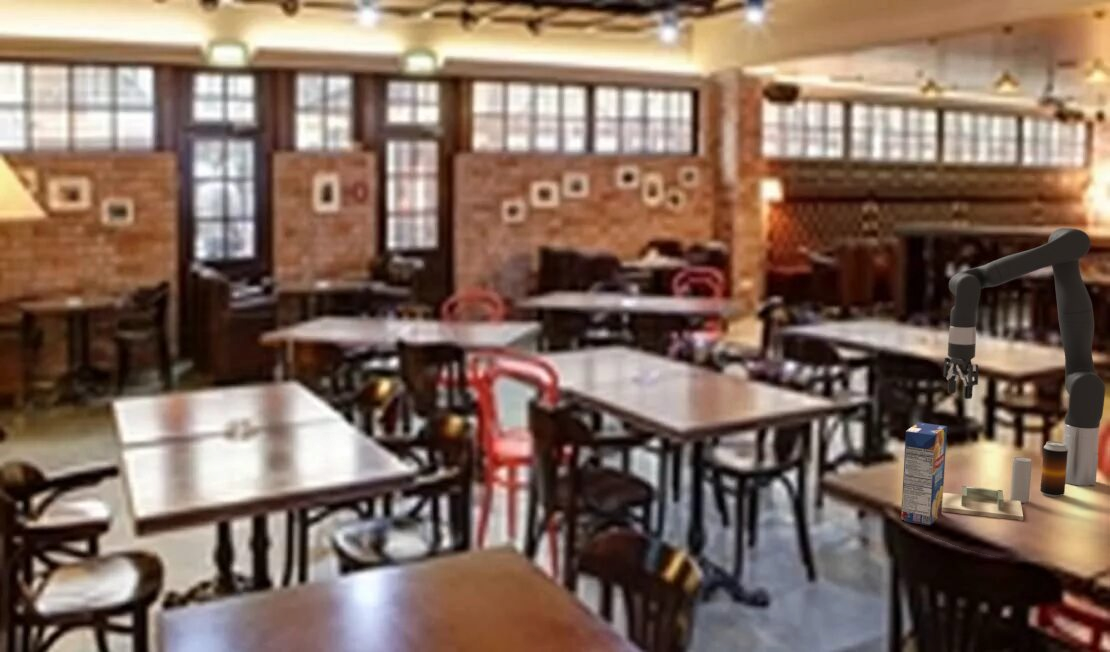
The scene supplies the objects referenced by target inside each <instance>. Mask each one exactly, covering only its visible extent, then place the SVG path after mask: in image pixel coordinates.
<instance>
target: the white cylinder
mask: <svg viewBox="0 0 1110 652" xmlns="http://www.w3.org/2000/svg"><path fill="white" fill-rule="evenodd" d="M1032 464H1033V463H1032V459H1031V458H1029V457H1023V456H1022V457H1021V456H1016V457H1015V456H1014V457H1013V460H1012V469H1011V480H1010V481H1011V482H1010V494H1009V495H1010V496H1009V500H1016V501H1021V504H1027V503H1028V502H1029V500H1030V492H1031V491H1030V490H1031V489H1030V488H1031V477H1032V468H1033V467H1032V466H1033V465H1032Z"/></svg>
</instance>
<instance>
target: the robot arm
mask: <svg viewBox="0 0 1110 652" xmlns="http://www.w3.org/2000/svg"><path fill="white" fill-rule="evenodd" d="M1091 243H1092V242H1091V239H1090V236H1089V234H1087V233H1086V232H1085V231H1084V230H1081V229H1077V228H1071V227H1069V228H1068V227H1065V228H1064V227H1063V228H1057V229H1055V230H1054V231H1052V233H1051V234H1050V235H1049V237H1048V241H1047V243H1044V244H1042V245H1040V246H1038V247H1035V248H1031V249H1028V250H1024V251H1021V252H1016V253H1012V254H1009V255H1006V256H1003V257H1001V258H998V259H996V260H992V261H991V262H988V263H986V264H984V265H981V266H977V267H973V268H970V269H966V270H963V271H960V272H957V273H956V274H954V275H953V276H952V277H951V278H950V280H949V282H948V289H949V291H950V293H952V294H953V295H954V296H955V301H954V306H953V307H952V308H951V309H950V319H949V330H948V340H947V342H948V343H947V356H948V357H944V362H943V374H942V375H943V378H946V380H947V393H948V394H955V393H956V392H957V391H956V388H957V378H958V377H960V380H962V382H963V385H964V387H963V398H964V399H965V400H969V399H970V400H972V398H973V387H974V386H978V385H979V365H978V364H972V359H974V358H975V357H976V349H977V348H976V347H977V346H976V343H977V342H976V341H977V330H976V325H977V323H976V322H977V309H978V308H979V307H978V306H979V303H980V297H981V293H982V292H981V291H982V289H985V288H994V287H998V286H1000V285H1004V284H1005V283H1007V282H1011V281H1013V280H1016V279H1019V278H1021V277H1022V276H1025V275H1028V274H1030V273H1033V272H1036V271H1038V270H1041V269H1044V268H1048V267H1051V268H1052V272H1053V277H1054V287H1055V289H1054V290H1055V295H1056V296H1055V299H1056V305H1057V317H1058V324H1059V331H1060V337H1061V343H1062V347H1063V351H1064V360H1065V361H1064V364H1065V370H1064V371H1065V373H1064V375H1065V376H1064V377H1065V378H1064V381H1065V382H1064V383H1065V385H1064V386H1065V390H1066V392H1067V393H1068V395H1069V401H1068V409H1067V412H1066V413H1065V416H1064V424H1063V425H1064V426H1063V437H1062V438H1063V441H1062V443H1065V444H1066V447H1067V449H1068V455H1067V467H1066V480H1065V484H1069V485H1074V486H1087V487H1088V486H1095V487H1096V485H1097V473H1098V462H1099V453H1098V449H1099V448H1098V446H1099V438H1100V437H1099V436H1100V435H1099V433H1100V424H1101V420H1102V418H1103V412H1104V406H1105V397H1106V388H1105V382H1104V381H1103V380H1102V378H1101V377H1100V376H1099V375H1097V373H1096V369H1095V364H1094V359H1093V351H1092V350H1093V349H1092V348H1093V341H1094V335H1095V319H1094V318H1095V317H1094V316H1095V315H1094V308H1093V303H1092V300H1091V297H1090V294H1089V291H1088V289H1087V287H1086V286H1085V284H1084V281H1083V278H1082V276H1081V270H1080V261H1079V260H1080V259H1082V258H1083V257H1085V256H1086V255H1087V254H1088V253H1089V251H1090V248H1091Z"/></svg>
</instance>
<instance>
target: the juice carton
mask: <svg viewBox="0 0 1110 652" xmlns="http://www.w3.org/2000/svg"><path fill="white" fill-rule="evenodd" d="M947 433H948V426H947V425H940V424H932V423H925V422H917V423H916V424H914V425H913V426H911V427H910V428H908V429H907V430H906V431H905V443H904V460H903V476H902V478H903V479H902V493H901V494H902V497H901V508H900V510H901V513H900V520H901V519H902V520H904V521H903V522H908V523H914V524H918V525H919V524H920V525H923V526H931V525H933V524H934V522H935V521H937V519H938V518H940V516H942V513H943V512H942V502H943V493H944V482H945V481H944V480H945V467H946V466H945V465H946V453H947V452H946V451H947V449H946V448H947V435H948V434H947ZM902 520H901V521H902Z"/></svg>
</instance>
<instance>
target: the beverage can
mask: <svg viewBox="0 0 1110 652" xmlns="http://www.w3.org/2000/svg"><path fill="white" fill-rule="evenodd" d="M1067 455H1068V449H1067V447H1066V444H1065V443H1063V441H1062V442H1061V441H1055V440H1048V441H1046V443H1045V445H1044V446H1043V450H1042V466H1041V474H1040V475H1041V477H1040V478H1041V479H1040V493H1042V494H1043V495H1044V496H1046V497H1053V498H1061V496H1063V495H1065V492H1066V491H1065V488H1066V483H1065V480H1066V467H1067Z"/></svg>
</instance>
